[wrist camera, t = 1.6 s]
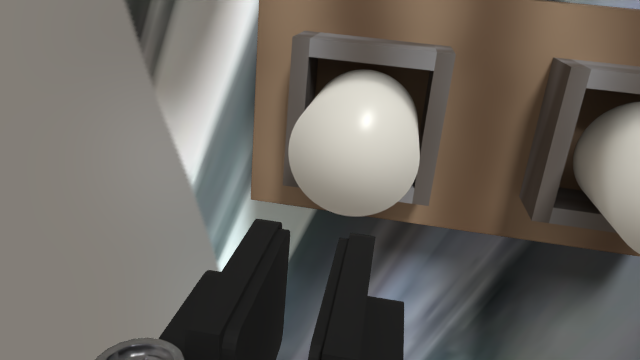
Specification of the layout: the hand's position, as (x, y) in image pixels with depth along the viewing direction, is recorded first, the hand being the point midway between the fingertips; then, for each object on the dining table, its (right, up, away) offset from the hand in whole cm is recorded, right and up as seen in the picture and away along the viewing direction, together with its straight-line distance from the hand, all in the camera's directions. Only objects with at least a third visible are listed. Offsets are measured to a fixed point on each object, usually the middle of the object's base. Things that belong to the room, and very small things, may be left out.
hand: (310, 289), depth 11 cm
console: (+10, +7, +21) cm, 24 cm away
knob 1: (+2, +5, +13) cm, 14 cm away
